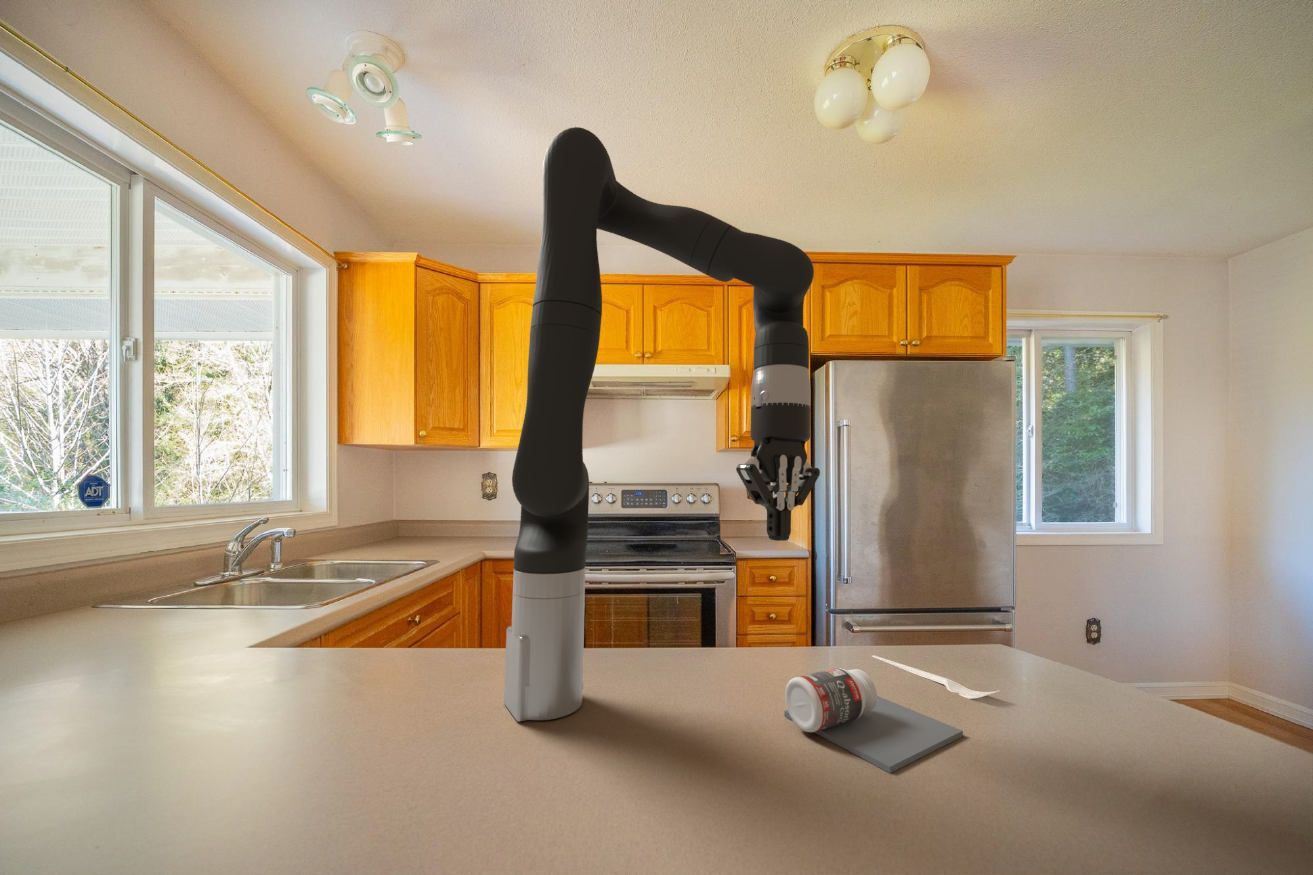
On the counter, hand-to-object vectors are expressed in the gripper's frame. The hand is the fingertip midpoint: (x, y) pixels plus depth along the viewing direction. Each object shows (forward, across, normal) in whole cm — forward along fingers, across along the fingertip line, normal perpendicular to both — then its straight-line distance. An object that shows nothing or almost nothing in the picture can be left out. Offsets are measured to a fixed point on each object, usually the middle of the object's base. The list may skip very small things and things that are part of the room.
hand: (778, 539), depth 63 cm
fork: (+21, -29, +2) cm, 36 cm away
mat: (+21, -8, +7) cm, 24 cm away
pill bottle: (+18, +1, +5) cm, 19 cm away
